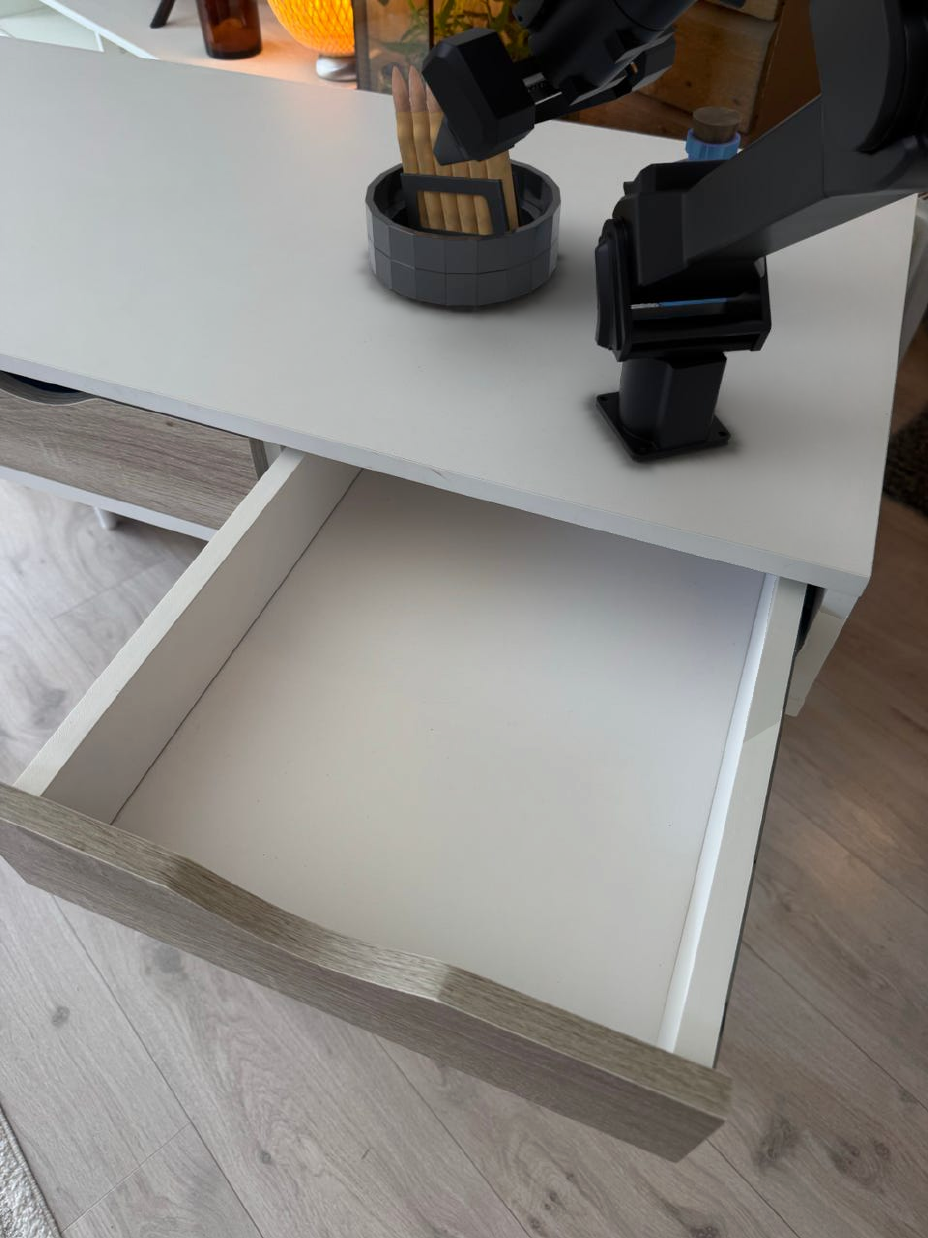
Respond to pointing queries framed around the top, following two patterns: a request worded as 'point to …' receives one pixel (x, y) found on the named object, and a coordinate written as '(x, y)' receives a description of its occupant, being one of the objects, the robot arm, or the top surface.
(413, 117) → the ammunition clip
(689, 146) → the perfume bottle
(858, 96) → the robot arm
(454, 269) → the bowl
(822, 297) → the top surface
